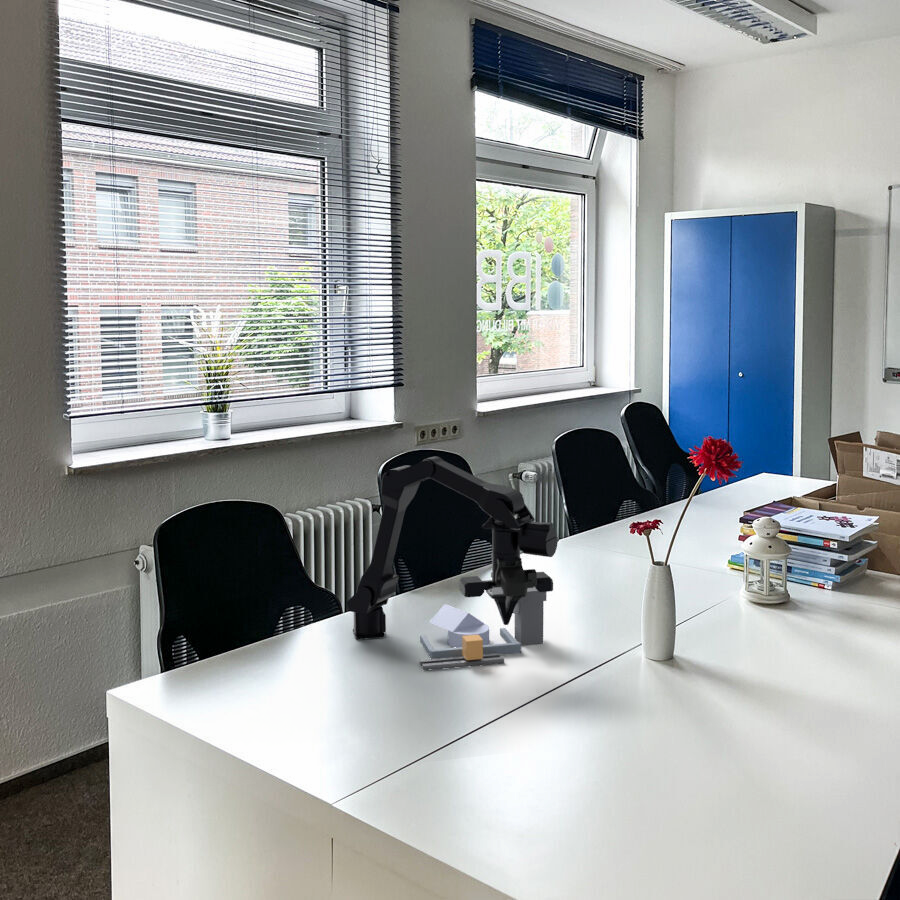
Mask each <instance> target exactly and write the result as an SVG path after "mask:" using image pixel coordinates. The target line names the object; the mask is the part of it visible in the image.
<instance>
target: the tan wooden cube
mask: <svg viewBox="0 0 900 900" xmlns="http://www.w3.org/2000/svg"><path fill="white" fill-rule="evenodd" d="M462 655H463V656H464V658H465V660H475V659H483V640H482V638H481V637H480V636H479V635H467V636H462Z"/></svg>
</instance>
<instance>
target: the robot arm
mask: <svg viewBox="0 0 900 900" xmlns="http://www.w3.org/2000/svg"><path fill="white" fill-rule="evenodd" d="M429 479H432V480H433V481H435V482H437V483H439V484H441V485H443V486H445V487H447V488H449V489H451V490H453V491H455V492H457V493H458V494H460V495H462V496H465V497H466V498H468V499H470V500H472V501H474V503H476V504H477V505H478V506H479V508H480V509H481V510H482V512H485V514H487V515H488V516H489V518H488V520H487V521H486V522H485V523H484V524H482V526H481V527H482V529H485V530H491V533H492V535H491V536H492V537H491V540H492V541H491V542H492V545H491V549H492V550H491V553H490V559H491V566H492V567H491V572H490V578H491V580H490V579H489V580H482V579H481V578H480V577H479V576H478V575H473V576H462V577H461V578H460V579H459V581H458V590H459V592H460V593H461V594H462V595H463V597H465V598H478V597H481V596H482V595H484V593H486V594H487V595H488V596H489V597H490V598H491V599H493V601H494V602H495V604H496V608H497V609H498V610H497V611H498V612H499V616H500V618H501V621H502V623H503V625H504V626H509V624H510V621H511V619H512V617H513V614H514V613H513V611H514V608H515V606H516V604H517V602H518V601H519V600H520V599H521V598H522V597H525V596H526V594H527V589H528V588H533V587H535V588H536V589H537V590H538V591H539V592H546V593H549V592H553V591H554V580H553V578H551V576H549V575H548V573H546V572H545V571H537V570H536V569H534V568H531V569H524V568H523V562H522V558H521V552H522V553H523V554H525V555H533V556H539V557H547V558H553V556H554V555H555V554H556V550H557V548H558V542H559V540H558V536H557V531H556V530H555V529H554V523H553V522H549V521H546V522H542V521H540V522H539V521H535V520H536V518H535V517H534V515H533V514H532V513H531V511H530V509H529V508H528V506H527V505H526V503H525V500H524V499H525V498H524V496H523V494H522V493H521V491H520V490H519V489H516V488H513V487H509V486H506V485H502V484H497V483H496V484H495V483H490V482H487V481H485V480H483V479H481V478H479V477H477V476H475V475H473V474H471V473H469V472H468V471H464V470H463V469H461V468H459V467H456V466H455V465H453V464H451V463H449V462H447V461H445V460H444V459H443V458H442V457H440V456H431V457H428V458H425V459H423V460H422V461H419V462H418V463H415V464H413V465H402V466H399V467H395V468H392V469H389V470H386V472H384V474H383V475H382V478H381V489H380V494H381V498H382V502H383V509H382V514H381V517H380V521H379V525H378V530H377V535H376V539H375V543H374V547H373V552H372V556H371V560H370V564H369V565H368V567H367V569H365V571H364V572H363V573H362V575H361V577H360V580H359V582H358V584H357V588H356V592H355V593H354V594H353V595H352V596H351V597H350V598H349V599H348V600H347V601H346V606H347V609H348V611H349V612H351V613H353V628H352V632H354V633H353V635H354V637H356V638H355V639H356V640H366V639H365V638H369V639H378V638H385V637H386V634H385V633H386V631H387V627H386V626H387V625H386V623H387V622H386V620H387V617H386V613H385V612H384V608H383V606H384V605H387V604H388V601H389V599H390V598H391V597H392V596H393V594H394V593H396V592H397V584H398V581H399V579H400V576H399V575H398V574H394V570H393V563H394V559H395V555H396V552H397V547H398V543H399V538H400V535H401V530H402V526H403V521H404V517H405V513H406V509H407V507H408V506H409V504H410V503H411V501H412V500H413V499H414V497H415V495H416V494H417V491H418V489H419V486H420V484H421V482H424V481H426V480H429ZM516 516H518V517H517V518H516Z"/></svg>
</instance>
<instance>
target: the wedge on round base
mask: <svg viewBox="0 0 900 900" xmlns="http://www.w3.org/2000/svg"><path fill="white" fill-rule="evenodd" d="M429 623H430V624H432V625H435V626H437V627H439V628H442V629H444V630H446V631H447V637H448V638H447V643H449V644H450V645H451V646H450V645H449V644H448V645H449V646H450V647H452V646H453V647H452V648H454V647H456V648H457V647H462V636H467V635H479V636H480V637H481V638H482V640H483V645H490V626H489V625H488V624H486V623H484V622H483V621H481V620H480V619H479V618H477V617H475V616H474V615H472V614H471V613H469V612H468V611H464V610H462V609H459V608H456V607H455V606H454V607H453V606H451V605H449V604H446V603H444V604H443V605H442V607H440V608H439V610H438V611H437V612H436V613H435V615H434V616H433V617H432V618H431V619H430V621H429Z"/></svg>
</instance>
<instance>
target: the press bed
mask: <svg viewBox="0 0 900 900" xmlns="http://www.w3.org/2000/svg"><path fill="white" fill-rule="evenodd" d="M544 602H547V592H539V591H538V590H537V589H536V588H535V587H533V588H528V589H527V594H526V596H525V597H522V598H521V599H520V600H519V601H518V602H517V604H516V606H515V608H514V611H513V613H512V614H513V615H514V636H513V635H512V634H511V633H510V632H509V631H508V629H507V628H506V627H503V628H499V635H500V637H501V638H502V639H503V641H504V643H495V644H493V643H492V644H488V645H483V654H493V653H500V654H501V656H502V655H514V654H515V655H516V654H521V653H522V647H523V646H533V645H535V646H536V645H544ZM419 642H420V644H421V643H422V644H421V646H422V645H423V646H422V647H423V649H424V648H425V649H424V651H425V650H426V651H425V652H426V654H427V653H428V654H427V655H429V656H430V657H429V656H428V657H429V659H430V658H431V659H437V658H448V657H459V656H463V655H462V647H457V648H454V647H448V648H447V647H446V648H445V647H444V648H436V649H435V648H434V646H433V645H432V643H431V641H430V639H429V638H428V637H427V635H426V634H420V636H419Z"/></svg>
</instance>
